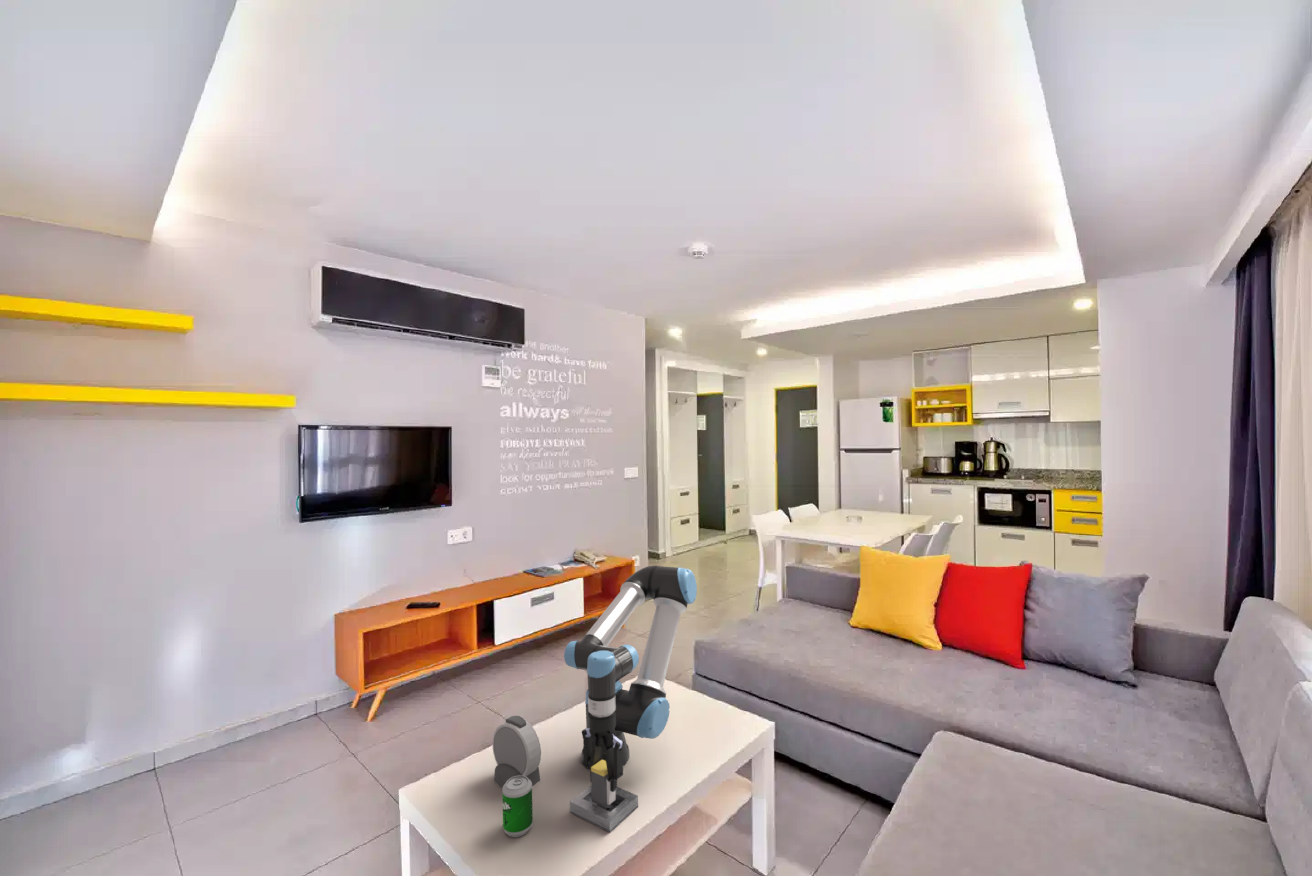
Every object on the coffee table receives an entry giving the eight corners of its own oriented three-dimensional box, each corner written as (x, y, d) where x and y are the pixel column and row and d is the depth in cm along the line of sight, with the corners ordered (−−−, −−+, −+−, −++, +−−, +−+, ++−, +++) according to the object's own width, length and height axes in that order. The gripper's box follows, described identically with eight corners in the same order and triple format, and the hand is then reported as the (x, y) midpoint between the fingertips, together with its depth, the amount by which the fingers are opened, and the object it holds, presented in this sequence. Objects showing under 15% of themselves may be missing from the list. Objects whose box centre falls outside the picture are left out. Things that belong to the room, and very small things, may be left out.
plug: (591, 801, 146) (590, 767, 146) (602, 792, 150) (602, 759, 150) (604, 807, 143) (603, 772, 144) (615, 798, 147) (614, 764, 147)
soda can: (535, 818, 144) (534, 773, 144) (529, 838, 137) (528, 790, 137) (507, 820, 144) (506, 774, 144) (499, 840, 136) (498, 792, 137)
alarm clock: (548, 779, 161) (547, 718, 162) (522, 798, 153) (521, 733, 153) (512, 763, 170) (511, 705, 171) (485, 780, 162) (484, 718, 162)
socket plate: (570, 812, 146) (569, 799, 146) (599, 789, 156) (599, 776, 156) (609, 832, 138) (609, 818, 138) (638, 807, 148) (637, 793, 148)
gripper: (569, 708, 149) (570, 794, 149) (618, 726, 139) (620, 818, 139) (587, 698, 156) (589, 780, 155) (636, 714, 145) (637, 802, 145)
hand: (603, 798), depth 147 cm, fingers closed on plug, 5 cm apart
